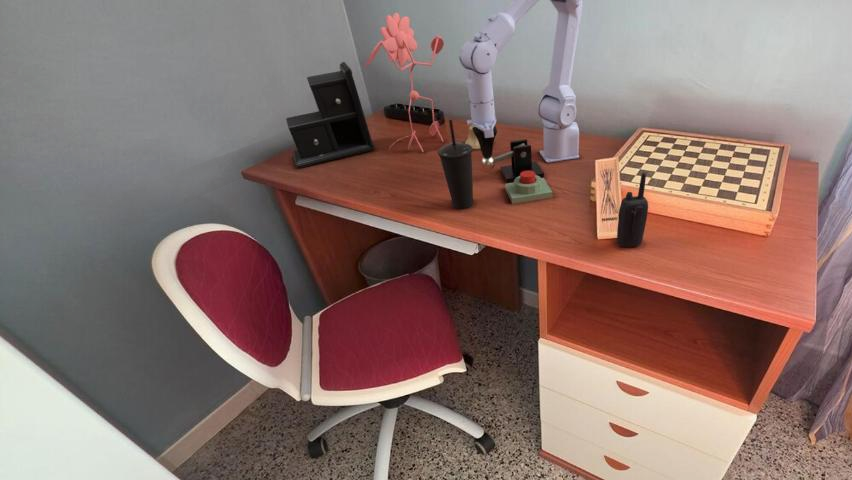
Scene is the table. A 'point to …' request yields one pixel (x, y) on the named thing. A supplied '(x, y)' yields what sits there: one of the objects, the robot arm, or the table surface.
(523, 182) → the button
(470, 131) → the hand bell
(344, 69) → the black drawer organizer
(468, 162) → the drinking cup
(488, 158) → the tap lever
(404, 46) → the figurine
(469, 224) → the table surface
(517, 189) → the button box
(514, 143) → the black lever mount
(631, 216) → the two-way radio
